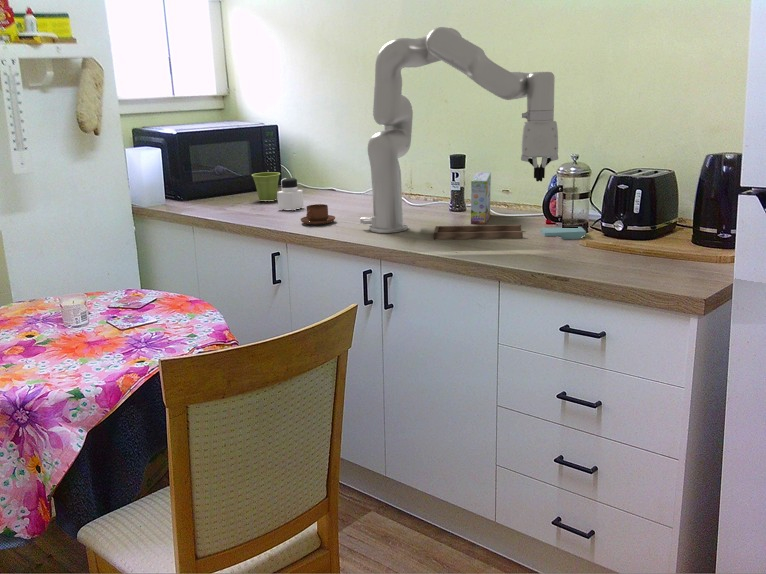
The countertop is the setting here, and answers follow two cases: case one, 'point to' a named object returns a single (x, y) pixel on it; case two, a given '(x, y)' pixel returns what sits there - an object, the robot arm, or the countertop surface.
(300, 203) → the medicine bottle
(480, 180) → the snack box
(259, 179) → the plant pot
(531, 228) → the countertop surface
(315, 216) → the cup and saucer
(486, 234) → the walnut box
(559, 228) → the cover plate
